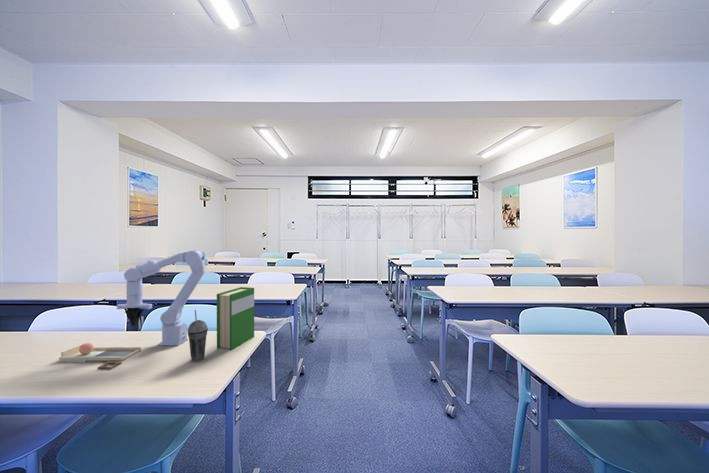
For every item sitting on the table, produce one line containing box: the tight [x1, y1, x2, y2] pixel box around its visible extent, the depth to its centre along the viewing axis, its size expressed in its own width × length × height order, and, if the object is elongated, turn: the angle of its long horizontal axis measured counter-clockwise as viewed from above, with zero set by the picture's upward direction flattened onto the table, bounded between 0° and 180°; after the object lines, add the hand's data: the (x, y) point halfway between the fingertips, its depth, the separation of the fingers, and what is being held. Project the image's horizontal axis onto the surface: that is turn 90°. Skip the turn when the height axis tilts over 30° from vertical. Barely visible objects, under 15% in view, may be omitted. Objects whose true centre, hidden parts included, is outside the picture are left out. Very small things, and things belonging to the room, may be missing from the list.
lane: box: [58, 342, 142, 363], centre depth 122 cm, size 24×11×4 cm, turn 90°
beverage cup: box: [187, 309, 209, 363], centre depth 119 cm, size 7×7×20 cm
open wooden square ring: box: [97, 361, 123, 370], centre depth 113 cm, size 5×5×1 cm
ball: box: [79, 342, 95, 354], centre depth 123 cm, size 4×4×4 cm
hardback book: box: [216, 286, 255, 351], centre depth 138 cm, size 18×7×24 cm, turn 167°
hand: (134, 324), depth 134 cm, fingers closed
